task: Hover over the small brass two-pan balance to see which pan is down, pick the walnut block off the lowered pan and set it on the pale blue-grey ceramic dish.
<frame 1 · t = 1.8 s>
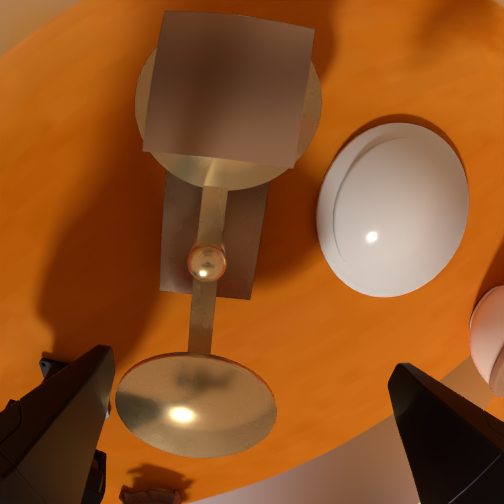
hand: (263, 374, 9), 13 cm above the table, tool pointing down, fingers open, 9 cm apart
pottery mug: (154, 493, 35), on the table
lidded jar: (488, 310, 26), on the table
dish: (400, 213, 21), on the table
balance: (211, 230, 21), on the table
block: (228, 98, 14), point 4 cm above the table, touching balance
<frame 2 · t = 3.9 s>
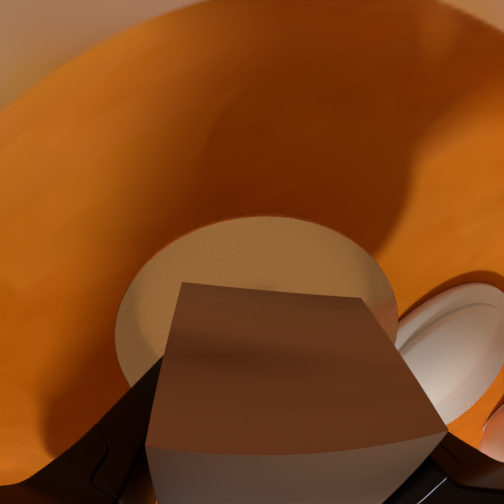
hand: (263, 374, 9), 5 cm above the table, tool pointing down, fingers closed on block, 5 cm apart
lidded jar: (503, 412, 22), on the table
dish: (439, 372, 17), on the table
balance: (230, 413, 16), on the table
block: (261, 362, 9), point 5 cm above the table, touching balance, gripper
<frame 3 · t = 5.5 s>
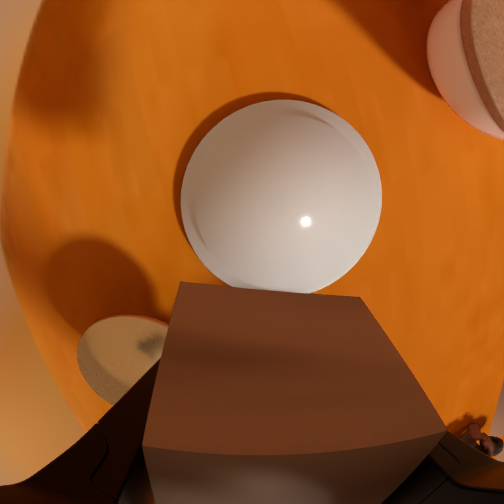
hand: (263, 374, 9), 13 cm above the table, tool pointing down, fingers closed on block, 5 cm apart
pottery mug: (464, 437, 35), on the table
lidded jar: (456, 69, 17), on the table
dish: (285, 202, 20), on the table
balance: (247, 366, 25), on the table
block: (260, 362, 9), point 12 cm above the table, touching gripper
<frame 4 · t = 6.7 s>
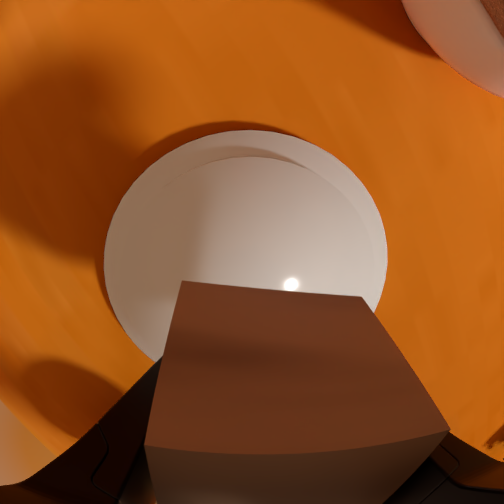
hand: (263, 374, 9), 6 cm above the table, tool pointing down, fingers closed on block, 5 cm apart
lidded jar: (446, 11, 10), on the table
dish: (248, 279, 14), on the table
block: (261, 361, 9), point 6 cm above the table, touching gripper
when the fingers open (3 cm above the table, at t = 7.5 s): block drops 1 cm, resting on dish.
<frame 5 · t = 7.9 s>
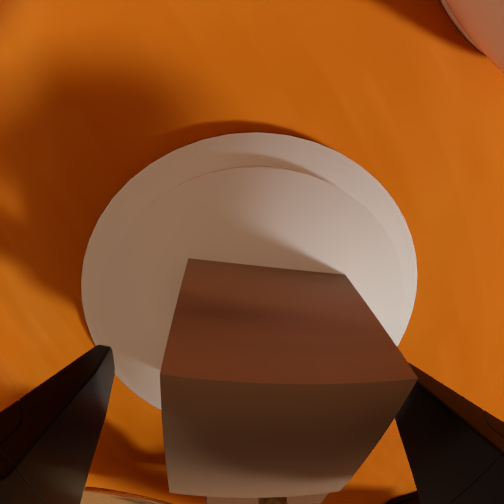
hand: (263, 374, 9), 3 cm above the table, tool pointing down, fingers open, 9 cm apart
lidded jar: (479, 1, 8), on the table
dish: (253, 313, 12), on the table
balance: (269, 477, 17), on the table
block: (257, 333, 11), point 1 cm above the table, touching dish
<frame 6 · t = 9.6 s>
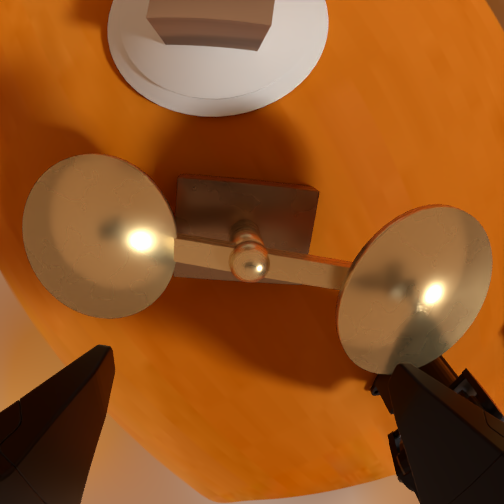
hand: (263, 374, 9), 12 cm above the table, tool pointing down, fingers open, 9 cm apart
dish: (217, 15, 15), on the table
balance: (242, 226, 20), on the table
block: (217, 7, 14), point 1 cm above the table, touching dish
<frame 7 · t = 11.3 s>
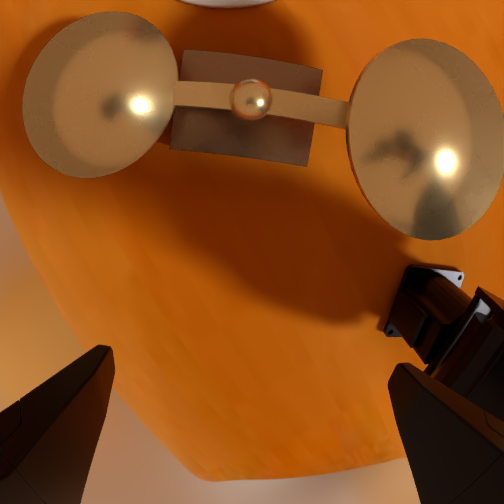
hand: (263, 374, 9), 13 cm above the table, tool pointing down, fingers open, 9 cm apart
balance: (245, 107, 18), on the table
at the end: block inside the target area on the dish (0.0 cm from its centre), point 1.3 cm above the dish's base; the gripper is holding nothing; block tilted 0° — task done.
